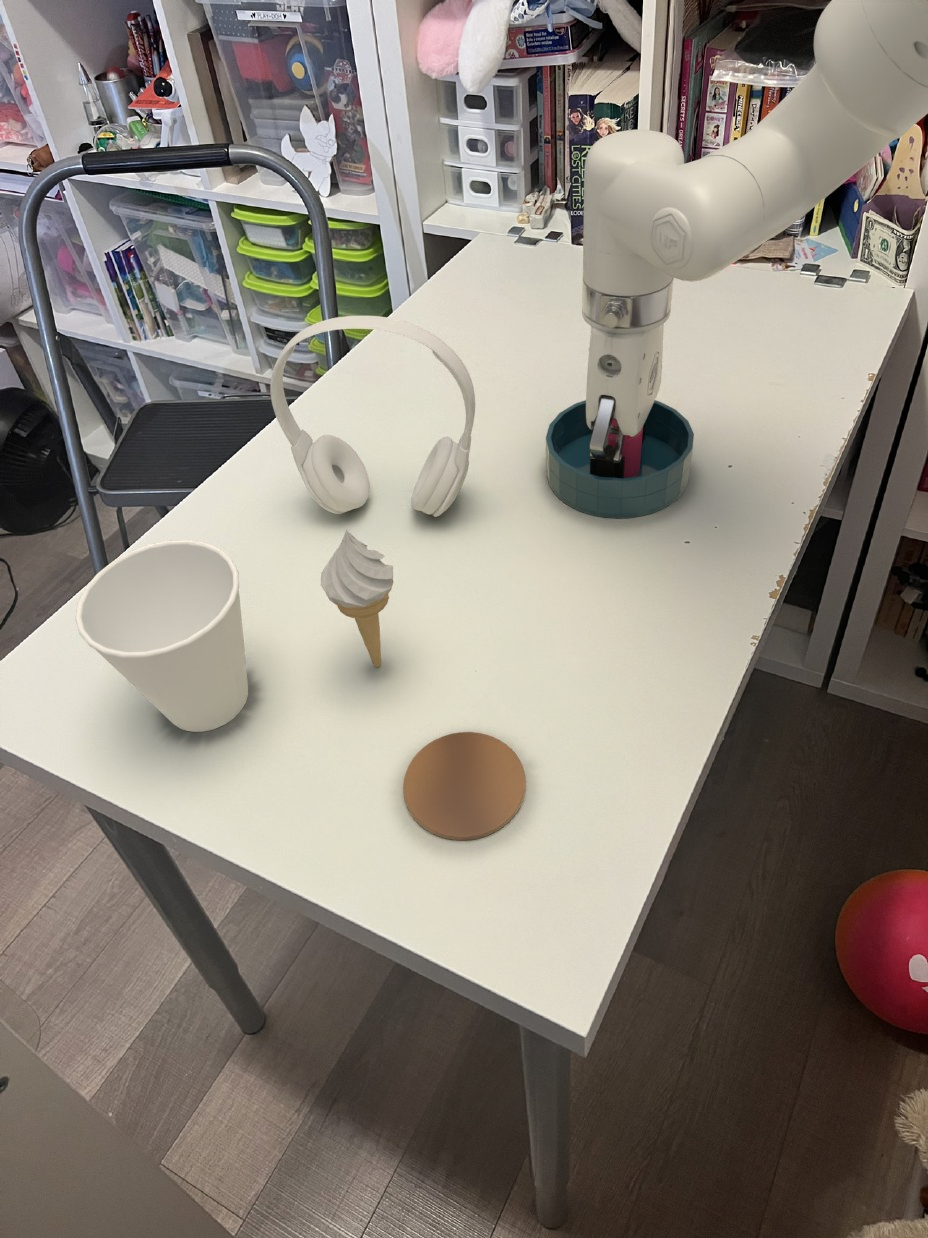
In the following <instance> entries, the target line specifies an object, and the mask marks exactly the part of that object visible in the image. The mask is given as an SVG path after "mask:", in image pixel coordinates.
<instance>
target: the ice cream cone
mask: <svg viewBox="0 0 928 1238" xmlns="http://www.w3.org/2000/svg"><path fill="white" fill-rule="evenodd" d="M384 558H385V555H384V554H383V553H381V552H379V551H378V550H376V549H369V548H368V544H366V543H364V542H363V541H361V540H359V539H357V538H356V537H355V536H354V535H353V534H352V533H351V532H349V530H347V529H346V530H345V532H344V534H343V538H342V540H341V541H340V544H339V546H338V547H337V548H336V550H335V551H334V553H333V554H332V556H331V558H330V559H329V560H328V562H327V563H326V565H325V566H324V568H323V569H322V571H321V576H320V587H321V588H322V590H323V592H324V593H325V595H326V597H327V598H328V600H329V601H330V602H331V603H333V604H334V605H336V607H337V609H338V610H339V612H340V613H341V614H343V616H346V617H348V618H352V619H354V621H355V622H356V626H357V629H358V632H359V634H360V637H361V638H362V640H363V643H364V645H365V648H366V651H367V652H368V655H369V658H370V660H371V663H372V664H373V666H374V667H376V668H377V667H381V665H382V651H381V650H382V649H381V647H382V646H381V628H380V616H379V613H380V612H381V611H384V609H385V608H386V606H387V605H388V603H389V600H390V596H389V594H390V592H391V591H392V589H393V585H394V565H392V564H386V563H384V562H383V561H382V559H384Z"/></svg>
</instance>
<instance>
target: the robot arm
mask: <svg viewBox="0 0 928 1238" xmlns="http://www.w3.org/2000/svg"><path fill="white" fill-rule="evenodd" d="M813 53H814V59H815V62H816V63H815V64H814V65H813V66H812V67H811V69H810V70H809V71H808V72H807V73H806V74H805V76H804V77H803V78H802V79H801V80H800V81H799V83H797V85H796V86H795V87H794V88H793V89H792V90H791V91H790V92H788V94H786V96H784V97H783V99H782V100H780V102H779V103H778V104H777V105H776V106H775V107H774V108H772V109H771V111H770V112H769V113H768V114H766V116H764V118H762V120H761V121H759V122H758V123H757V124H756V125H755V126H754V127H753V128H752V129H750V130H749V131H748V132H746V133H745V134H744V135H742V136H741V137H739V138H737V139H735V140H733V141H731V142H729V143H726V144H725V145H723V146H721V147H719V148H718V149H716V150H714V151H711V152H710V153H708V154H707V155H705V156H702V157H701V158H699V159H696V160H693V161H689V162H686V163H685V155H684V151H683V148H682V146H681V145H680V143H679V142H678V141H677V140H676V139H675V138H674V137H672V136H671V135H669V134H668V133H665V132H661V131H656V130H651V129H629V130H628V129H627V130H622V131H618V132H614V133H610V134H606V135H605V136H602V137H601V138H599V139H598V140H597V141H595V142H594V143H593V145H591V147H590V149H589V150H588V152H587V154H586V157H585V161H584V171H583V174H584V175H583V230H582V231H583V233H582V292H581V293H582V295H581V296H582V297H581V298H582V299H581V300H582V301H581V316H582V318H583V320H584V322H585V323H586V324H587V325H588V326H590V337H589V347H588V360H587V374H586V387H585V388H586V389H585V390H586V391H585V400H586V422H587V425H588V427H589V428H590V429H591V430H593V429H594V430H593V434H592V438H591V442H590V474H592V475H596V476H599V477H610V478H624V468H625V457H623V456H622V451H623V445H624V440H625V435H629V436H630V437H634V436H635V435H637V434H638V433H639V432H640V431H641V429H642V427H643V434H642V443H643V442H644V439H645V428H646V419H647V416H648V414H649V412H650V410H651V408H652V405H653V403H654V401H655V400H656V399H657V396H658V393H659V391H660V388H661V385H662V384H661V383H662V375H663V374H662V373H663V355H664V354H663V351H664V331H665V330H664V328H665V327H664V325H665V323H666V322H667V321H668V320H669V318H670V316H671V312H672V299H673V291H674V289H673V287H674V279H676V280H680V281H683V282H689V283H690V282H692V283H693V282H700V281H704V280H707V279H709V278H712V277H714V276H716V275H717V274H718V273H721V272H722V271H724V270H725V269H726V268H729V266H731V265H732V264H734V263H736V262H737V261H739V260H740V259H742V258H743V257H745V256H747V255H748V254H749V253H750V252H752V251H754V250H755V249H756V248H758V247H760V246H761V245H762V244H764V243H766V242H768V241H769V240H771V239H772V238H774V237H776V236H777V235H779V234H781V233H783V232H784V231H785V230H787V229H789V227H791V226H792V225H794V224H795V223H796V222H797V221H799V220H800V219H801V218H803V217H804V216H806V215H807V214H808V213H810V212H811V210H812V209H813V208H815V207H817V206H818V204H820V203H821V202H822V201H824V200H825V199H826V198H827V197H828V196H829V195H831V194H832V193H834V192H835V191H836V190H837V189H838V188H840V187H841V185H843V184H844V183H846V181H848V180H850V178H851V177H853V176H854V175H855V174H856V173H857V172H858V171H860V170H862V169H863V167H865V166H866V165H867V164H868V163H869V162H871V161H872V160H873V159H874V158H875V157H877V155H879V154H880V153H881V152H882V151H883V150H884V149H885V148H886V147H887V146H889V145H890V144H891V143H892V142H893V141H895V140H897V139H900V138H902V137H903V136H904V135H905V134H906V133H907V132H908V131H909V130H910V129H911V128H912V127H913V126H915V125H916V124H917V123H919V121H920V120H922V119H923V118H924V117H926V115H928V0H831V1H829V3H828V4H827V5H826V6H825V8H824V9H823V11H821V14H820V16H819V18H818V20H817V23H816V25H815V30H814V34H813ZM613 419H615V420H617V422H618V425H619V427H617V426H611V424H612V420H613ZM609 433H611V434H617V439H616V445H615V448H614V447H613V446H612V445H608V444H609V442H608V436H609Z"/></svg>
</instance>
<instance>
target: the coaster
mask: <svg viewBox="0 0 928 1238" xmlns="http://www.w3.org/2000/svg"><path fill="white" fill-rule="evenodd" d="M526 783H527V781H526V774H525V769H524V765H523V764H522V761H521V759H520V758H519V757H518V755H517V753H516V752H515V751H514V750H513V749H512V748H511V747H510V746H509V745H508V744H506V743H505V742H504V741H502V740H500V739H499V738H497V737H494V736H491V735H489V734H485V733H482V732H474V731H462V732H461V731H460V732H454V733H450V734H446V735H444V736H441V737H439V738H436V739H435V740H433V741H431V742H429V743H427V744H426V745H425V746H424V747H422V748H421V749H420V750H419V751H418V752H417V753H416V754H415V755H414V757H413V758H412V759H411V761H410V763H409V765H408V767H407V769H406V771H405V774H404V778H403V796H404V800H405V804H406V807H407V809H408V812H409V813H410V815H411V817H412V818H413V819H414V820H415V822H416V823H417V824H418V825H419V826H420V827H422V828H423V829H424V830H426V831H427V832H429V833H431V834H433V835H434V836H437V837H440V838H443V839H446V840H452V841H471V840H476V839H481V838H484V837H488V836H489V835H492V834H494V833H496V832H497V831H499V830H501V829H502V828H504V827H505V826H506V825H507V824H509V822H511V820H512V819H513V818H514V817H515V816H516V814H517V813H518V812H519V810H520V808H521V806H522V804H523V802H524V798H525V796H526V795H525V794H526V789H527V788H526V786H527V785H526Z"/></svg>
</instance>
